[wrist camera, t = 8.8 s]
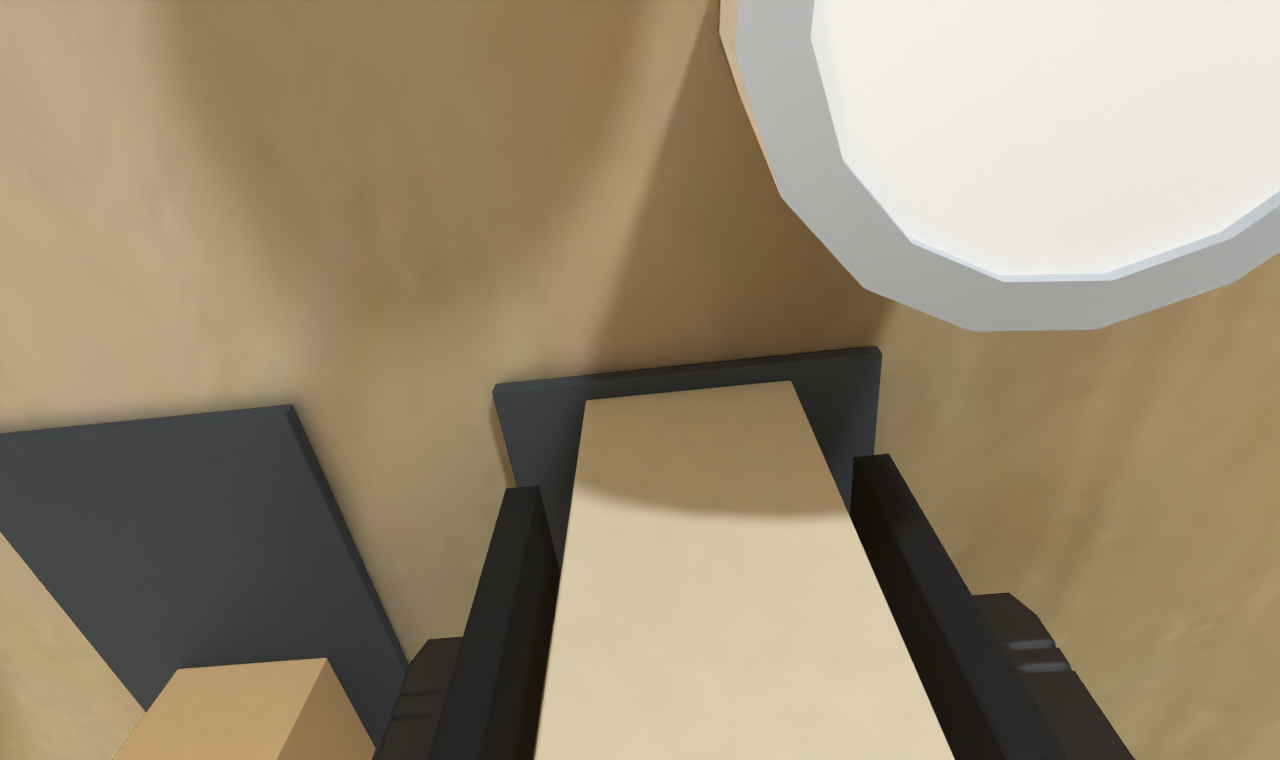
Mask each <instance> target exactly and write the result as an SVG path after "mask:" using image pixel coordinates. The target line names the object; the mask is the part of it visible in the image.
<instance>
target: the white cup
mask: <svg viewBox="0 0 1280 760" xmlns="http://www.w3.org/2000/svg"><path fill="white" fill-rule="evenodd" d="M719 34H720V37H721V40H722V43H723V47H724V50H725V53H726V56H727V59H728V62H729V65H730V68H731V71H732V74H733V77H734V80H735V83H736V86H737V90H738V93H739V95H740V98H741V100H742V103H743V105H744V108H745V110H746V113H747V115H748V118H749V120H750V122H751V125H752V127H753V130H754V132H755V135H756V137H757V140H758V142H759V145H760V147H761V149H762V152H763V154H764V157H765V159H766V162H767V164H768V167H769V169H770V172H771V174H772V176H773V179H774V181H775V184H776V186H777V189H778V191H779V194H780V196H781V198H782V199H783V200H784V201H785V202H786V203H787V205H788V206H789V207H790V208H791V209H792V210H793V211H794V212H795V213H796V214H797V216H798V217H799V218H800V219H801V220H802V221H803V222H804V223H805V224H806V225H807V227H808V228H809V229H810V230H811V231H812V232H813V233H814V234H815V235H816V236H817V238H818V239H819V240H820V241H821V242H822V243H823V244H824V245H825V246H826V247H827V249H828V250H829V251H830V252H831V253H832V254H833V255H834V256H835V257H836V258H837V260H838V261H839V262H840V263H841V264H842V265H843V266H844V267H845V268H846V269H847V271H848V272H849V273H850V274H851V275H852V276H853V277H854V278H855V279H856V280H857V282H858V283H859V284H860V285H861V286H862V287H863V288H864V289H867V290H869V291H872V292H874V293H877V294H879V295H882V296H884V297H887V298H889V299H892V300H894V301H896V302H899V303H901V304H904V305H906V306H909V307H911V308H914V309H916V310H919V311H921V312H924V313H926V314H929V315H931V316H934V317H936V318H939V319H941V320H944V321H946V322H949V323H951V324H954V325H956V326H959V327H961V328H964V329H966V330H969V331H1041V330H1097V329H1100V328H1103V327H1106V326H1108V325H1111V324H1114V323H1117V322H1120V321H1123V320H1126V319H1129V318H1132V317H1135V316H1138V315H1141V314H1144V313H1146V312H1149V311H1152V310H1155V309H1158V308H1161V307H1164V306H1167V305H1170V304H1173V303H1176V302H1179V301H1181V300H1184V299H1187V298H1190V297H1193V296H1196V295H1199V294H1202V293H1205V292H1208V291H1211V290H1214V289H1217V288H1219V287H1222V286H1225V285H1228V284H1231V283H1234V282H1235V281H1237V280H1238V279H1240V278H1241V277H1243V276H1244V275H1246V274H1247V273H1249V272H1250V271H1252V270H1253V269H1255V268H1256V267H1258V266H1259V265H1261V264H1262V263H1264V262H1265V261H1267V260H1268V259H1270V258H1271V257H1273V256H1274V255H1276V254H1277V253H1279V252H1280V0H721V3H720V28H719Z"/></svg>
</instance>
